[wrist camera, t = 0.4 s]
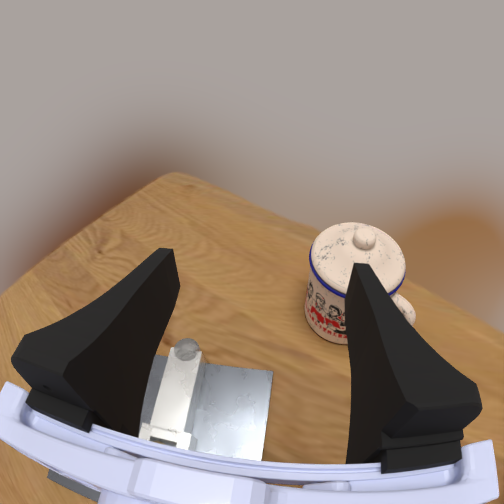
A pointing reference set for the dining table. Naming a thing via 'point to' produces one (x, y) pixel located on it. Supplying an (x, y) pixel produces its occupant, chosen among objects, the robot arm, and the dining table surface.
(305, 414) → the dining table surface
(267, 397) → the base plate
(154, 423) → the link
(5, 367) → the dining table surface
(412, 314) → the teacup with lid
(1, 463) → the dining table surface
